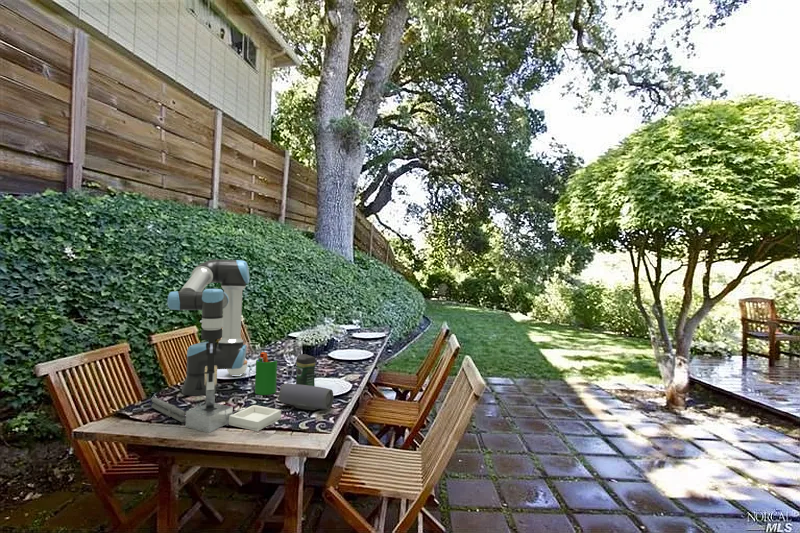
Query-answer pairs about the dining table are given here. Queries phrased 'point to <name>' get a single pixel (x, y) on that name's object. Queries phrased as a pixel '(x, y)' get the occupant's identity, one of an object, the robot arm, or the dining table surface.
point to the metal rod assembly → (168, 409)
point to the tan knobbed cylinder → (210, 393)
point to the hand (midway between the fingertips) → (210, 387)
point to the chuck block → (208, 417)
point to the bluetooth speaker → (306, 396)
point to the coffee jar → (305, 370)
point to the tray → (255, 417)
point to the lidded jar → (239, 370)
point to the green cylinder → (265, 375)
